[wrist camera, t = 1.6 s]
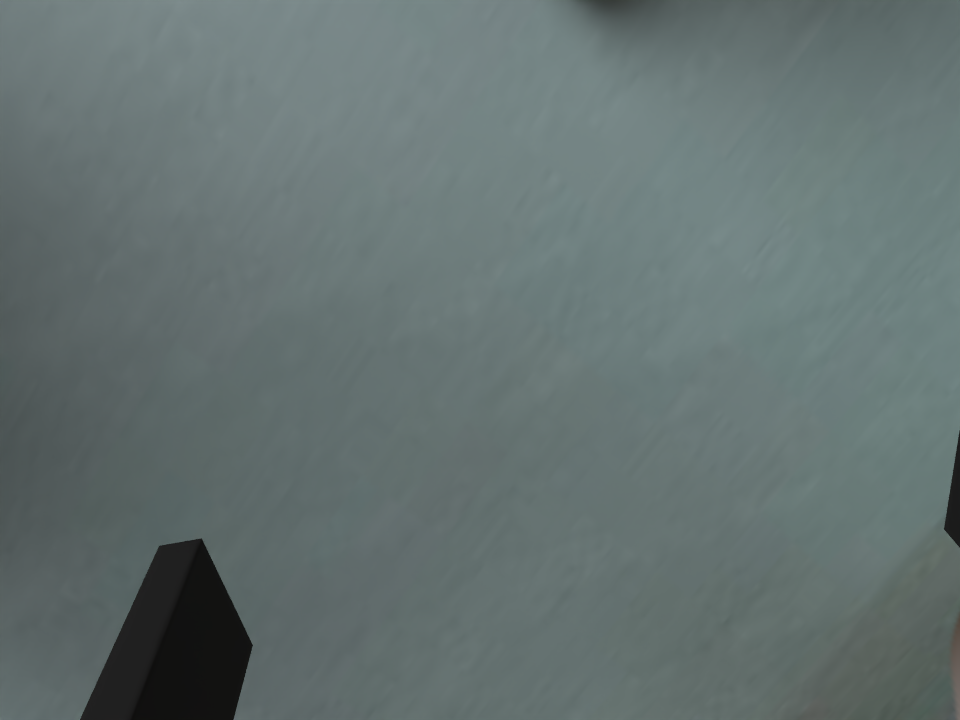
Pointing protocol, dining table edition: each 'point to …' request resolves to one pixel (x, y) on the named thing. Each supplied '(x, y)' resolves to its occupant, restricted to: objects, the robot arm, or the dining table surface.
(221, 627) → the robot arm
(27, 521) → the dining table surface
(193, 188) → the dining table surface
